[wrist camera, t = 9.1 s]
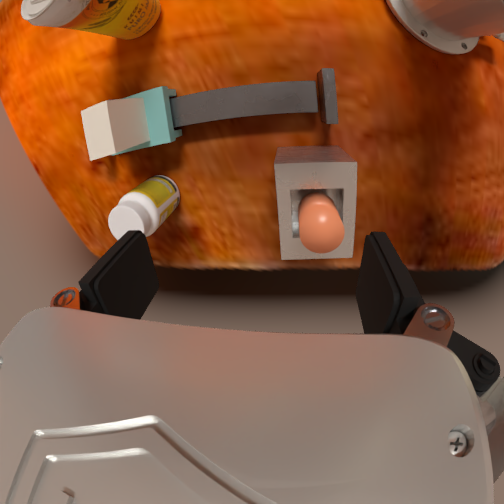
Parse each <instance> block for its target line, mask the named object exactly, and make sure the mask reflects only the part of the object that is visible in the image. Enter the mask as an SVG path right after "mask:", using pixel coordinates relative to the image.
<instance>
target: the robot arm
mask: <svg viewBox="0 0 504 504" xmlns="http://www.w3.org/2000/svg"><path fill="white" fill-rule="evenodd" d="M386 2H387V4H388V6H389V8H390V9H391V11H392V13H393V14H394V15H395V17H396V18H397V19H398V21H399V22H400V23H401V24H402V25H403V26H404V27H405V28H406V29H407V30H408V31H409V32H410V33H411V34H412V35H413V36H414V37H416V38H417V39H418V40H420V41H421V42H422V43H424V44H425V45H427V46H429V47H431V48H433V49H434V50H437V51H440V52H442V53H447V54H463V53H467V52H469V51H471V50H472V49H473V48H474V47H475V46H476V45H477V43H478V40H479V37H480V36H486V35H487V36H491V35H492V36H494V37H495V38H497V39H499V40H501V41H503V42H504V0H386ZM421 34H422V35H421ZM79 285H80V287H81V289H82V290H81V291H80V292H79V290H78V289H77V288H74V287H69V288H66V289H63V290H61V291H59V292H58V293H57V294H56V295H55V296H54V297H53V298H52V300H51V303H50V307H46V308H40V309H36V310H34V311H31V312H29V313H27V314H26V315H25V316H24V317H23V318H22V319H21V320H20V321H19V322H18V323H17V324H16V326H15V327H14V328H13V329H12V330H11V332H10V333H9V334H8V335H7V337H6V338H5V339H4V341H3V342H2V344H1V345H0V504H494V485H493V484H494V482H495V481H496V480H497V479H498V477H499V476H500V475H501V473H502V472H503V471H504V377H503V378H501V377H500V376H499V375H500V366H499V363H498V361H497V359H496V358H495V357H494V356H493V355H492V354H491V353H489V352H488V351H486V350H485V349H483V348H481V347H480V346H478V345H477V344H475V343H473V342H472V341H470V340H468V339H467V338H465V337H463V336H462V335H460V334H458V333H456V332H455V331H453V328H454V318H453V316H452V315H451V313H450V312H449V311H448V310H447V309H445V308H444V307H442V306H440V305H438V304H433V303H428V304H425V303H424V301H423V299H422V297H421V295H420V293H419V291H418V289H417V287H416V285H415V283H414V281H413V279H412V277H411V275H410V273H409V271H408V269H407V268H406V266H405V265H404V264H403V263H402V261H401V259H400V257H399V255H398V254H397V252H396V250H395V248H394V247H393V245H392V243H391V241H390V240H389V238H388V236H387V235H386V233H385V232H371V233H370V235H366V238H365V243H364V249H363V255H362V261H361V266H360V272H359V277H358V282H357V287H356V299H357V303H358V307H359V311H360V316H361V320H362V325H363V329H364V334H349V333H348V334H311V333H309V334H308V333H277V332H257V331H240V330H226V329H215V328H214V329H213V328H203V327H194V326H185V325H176V324H167V323H159V322H152V321H144V320H140V319H141V317H142V316H143V314H144V312H145V311H146V309H147V307H148V305H149V304H150V302H151V300H152V299H153V297H154V295H155V293H156V292H157V290H158V288H159V281H158V278H157V275H156V271H155V268H154V264H153V261H152V257H151V254H150V250H149V247H148V243H147V239H146V236H145V234H144V233H142V231H140V230H129V231H127V232H126V233H125V234H124V235H123V236H122V237H121V238H120V239H119V240H118V241H117V242H116V243H115V244H114V245H113V246H112V247H111V248H110V249H109V250H108V251H107V252H106V253H105V254H104V255H103V256H102V257H101V258H100V259H99V260H98V261H97V263H96V264H95V265H94V266H93V267H92V268H91V269H90V270H89V271H88V272H87V273H86V274H85V276H84V277H83V278H82V279H81V280H80V281H79Z"/></svg>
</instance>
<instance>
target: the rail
mask: <svg viewBox="0 0 504 504" xmlns="http://www.w3.org/2000/svg"><path fill="white" fill-rule="evenodd" d="M317 75H318V85H319V95H320V107H321V121H322V122H324V123H326V124H338V112H337V98H336V86H335V76H334V69H329V68H322V69H321V70H320V71H319V72H318V73H317ZM169 102H170V108H171V115H172V121H173V128H175V127H180V126H185V125H190V124H196V123H202V122H208V121H214V120H221V119H228V118H236V117H245V116H255V115H267V114H281V113H302V112H318V105H317V94H316V84H315V81H292V82H275V83H263V84H253V85H244V86H236V87H229V88H222V89H216V90H210V91H205V92H199V93H194V94H190V95H185V96H180V97H176V98H172V99H169Z"/></svg>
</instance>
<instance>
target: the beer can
mask: <svg viewBox="0 0 504 504" xmlns="http://www.w3.org/2000/svg"><path fill="white" fill-rule="evenodd" d="M160 10H161V6H160V2H159V0H23V2H22V6H21V15H22V17H23V19H25V20H28V21H29V22H30V23H31V24H32V25H36V26H50V27H59V28H68V29H75V30H81V31H87V32H93V33H98V34H103V35H107V36H112V37H116V38H120V39H125V40H130V39H135V38H138V37H140V36H142V35H143V34H145V33H146V32H147V31H149V30H150V29H151V28H152V27H153V25H154V24H155V23H156V21H157V19H158V17H159V15H160Z"/></svg>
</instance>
